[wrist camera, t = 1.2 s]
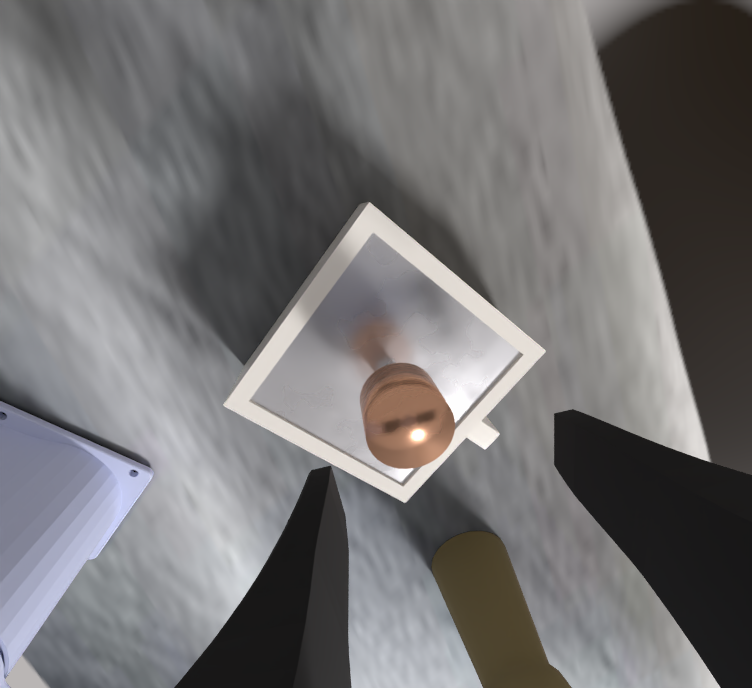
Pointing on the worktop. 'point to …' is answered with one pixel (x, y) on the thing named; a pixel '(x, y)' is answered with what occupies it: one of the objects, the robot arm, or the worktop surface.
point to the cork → (492, 613)
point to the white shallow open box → (308, 301)
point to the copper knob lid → (386, 365)
